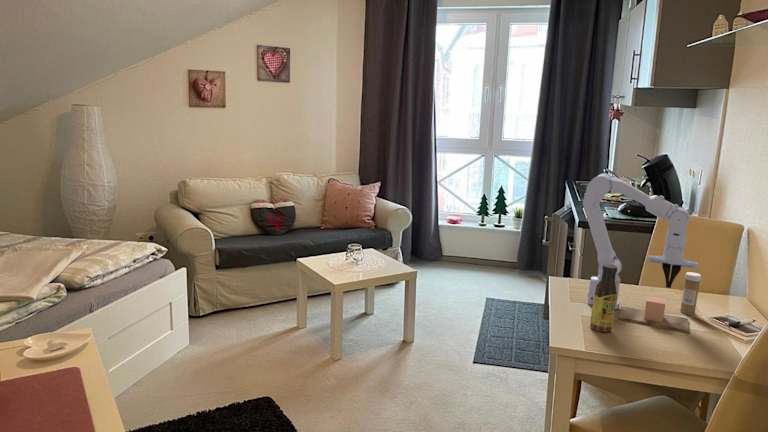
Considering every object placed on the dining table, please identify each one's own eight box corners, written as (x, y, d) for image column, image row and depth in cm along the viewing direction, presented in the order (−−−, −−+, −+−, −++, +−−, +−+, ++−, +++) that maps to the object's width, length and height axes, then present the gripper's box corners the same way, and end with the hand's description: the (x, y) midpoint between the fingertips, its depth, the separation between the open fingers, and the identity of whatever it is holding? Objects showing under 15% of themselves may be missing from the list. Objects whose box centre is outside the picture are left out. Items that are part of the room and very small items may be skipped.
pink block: (643, 318, 186) (646, 300, 185) (644, 313, 191) (647, 295, 190) (662, 322, 184) (665, 304, 183) (662, 316, 189) (665, 299, 188)
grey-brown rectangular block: (618, 319, 187) (620, 301, 186) (620, 308, 197) (623, 291, 196) (688, 332, 179) (691, 314, 178) (687, 320, 189) (690, 303, 187)
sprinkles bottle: (697, 313, 195) (704, 274, 193) (690, 316, 193) (696, 276, 190) (684, 309, 199) (690, 270, 196) (676, 311, 197) (683, 272, 194)
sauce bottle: (601, 334, 174) (609, 270, 170) (585, 326, 180) (593, 263, 176) (616, 331, 177) (625, 267, 173) (600, 323, 183) (608, 261, 179)
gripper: (649, 245, 186) (643, 286, 189) (701, 252, 180) (693, 294, 183) (650, 240, 193) (644, 280, 195) (700, 247, 187) (693, 288, 189)
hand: (668, 286), depth 190 cm, fingers closed
